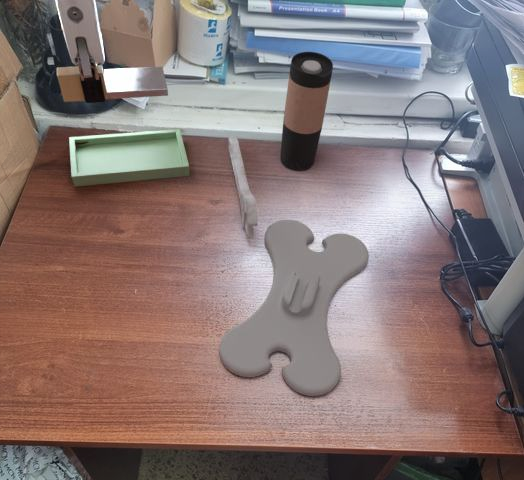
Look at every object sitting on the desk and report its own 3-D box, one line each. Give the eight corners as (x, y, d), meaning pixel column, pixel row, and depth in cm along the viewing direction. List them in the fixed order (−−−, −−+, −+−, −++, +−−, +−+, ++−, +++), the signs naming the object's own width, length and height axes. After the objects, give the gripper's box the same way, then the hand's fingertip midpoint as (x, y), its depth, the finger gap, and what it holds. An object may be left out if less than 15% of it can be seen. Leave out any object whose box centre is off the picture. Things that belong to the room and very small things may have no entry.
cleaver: (163, 73, 90) (160, 47, 86) (168, 95, 86) (165, 69, 82) (63, 78, 87) (56, 52, 83) (64, 102, 83) (57, 75, 79)
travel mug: (281, 145, 107) (293, 48, 91) (316, 151, 107) (335, 54, 90) (276, 168, 103) (288, 70, 86) (313, 174, 103) (332, 77, 86)
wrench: (236, 159, 108) (256, 249, 90) (227, 159, 108) (246, 250, 90) (237, 122, 102) (258, 211, 84) (228, 122, 102) (247, 212, 83)
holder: (211, 369, 77) (210, 351, 73) (271, 220, 95) (274, 200, 91) (332, 404, 75) (339, 389, 71) (370, 247, 93) (377, 227, 89)
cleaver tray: (74, 186, 96) (71, 176, 94) (71, 147, 102) (68, 137, 100) (189, 175, 100) (189, 166, 98) (180, 138, 106) (179, 128, 104)
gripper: (99, -7, 66) (122, 123, 81) (92, -59, 74) (114, 68, 89) (38, -5, 64) (73, 126, 80) (38, -58, 72) (70, 70, 88)
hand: (94, 95), depth 84 cm, fingers closed on cleaver, 2 cm apart
